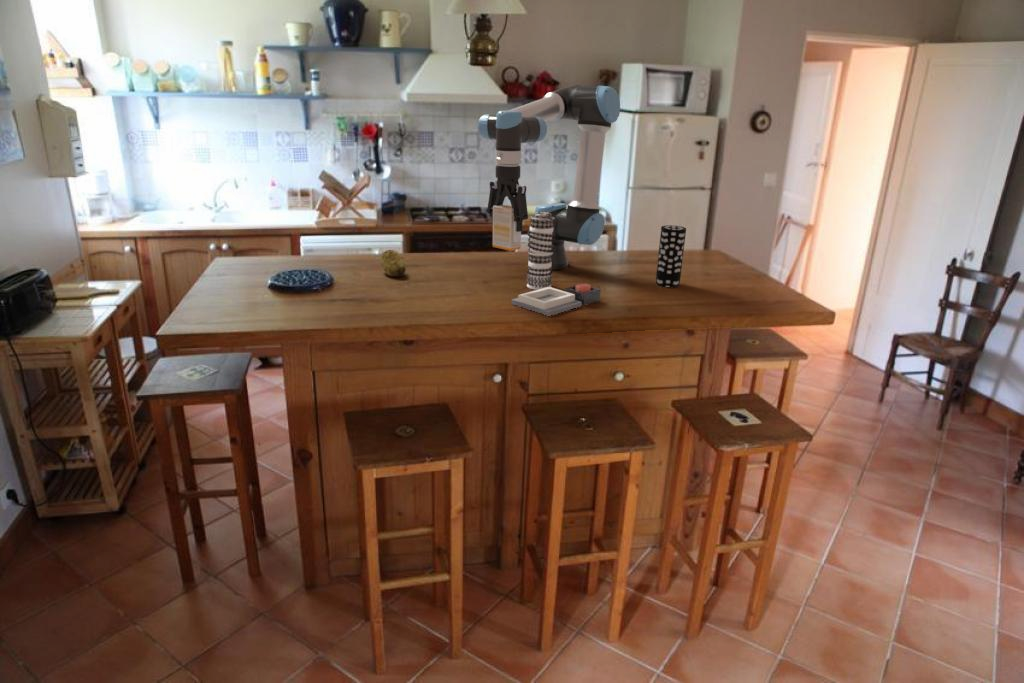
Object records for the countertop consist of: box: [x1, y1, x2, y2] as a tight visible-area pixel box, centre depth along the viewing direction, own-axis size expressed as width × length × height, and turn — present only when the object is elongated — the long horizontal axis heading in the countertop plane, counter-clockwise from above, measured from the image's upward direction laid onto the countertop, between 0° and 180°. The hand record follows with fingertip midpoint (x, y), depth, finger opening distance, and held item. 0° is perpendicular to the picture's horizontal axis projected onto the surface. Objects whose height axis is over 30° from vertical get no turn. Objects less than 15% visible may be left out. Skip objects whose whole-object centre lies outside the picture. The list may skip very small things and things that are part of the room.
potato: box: [380, 249, 407, 278], centre depth 238 cm, size 8×13×8 cm, turn 12°
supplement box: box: [492, 203, 522, 252], centre depth 210 cm, size 8×5×13 cm, turn 47°
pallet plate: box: [510, 286, 583, 317], centre depth 210 cm, size 16×15×4 cm
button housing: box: [564, 284, 602, 306], centre depth 215 cm, size 8×8×4 cm
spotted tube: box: [655, 224, 687, 289], centre depth 233 cm, size 8×8×20 cm
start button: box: [574, 282, 592, 292], centre depth 215 cm, size 5×5×4 cm
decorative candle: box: [526, 211, 555, 291], centre depth 226 cm, size 9×9×25 cm
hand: (506, 239), depth 212 cm, fingers closed on supplement box, 8 cm apart
